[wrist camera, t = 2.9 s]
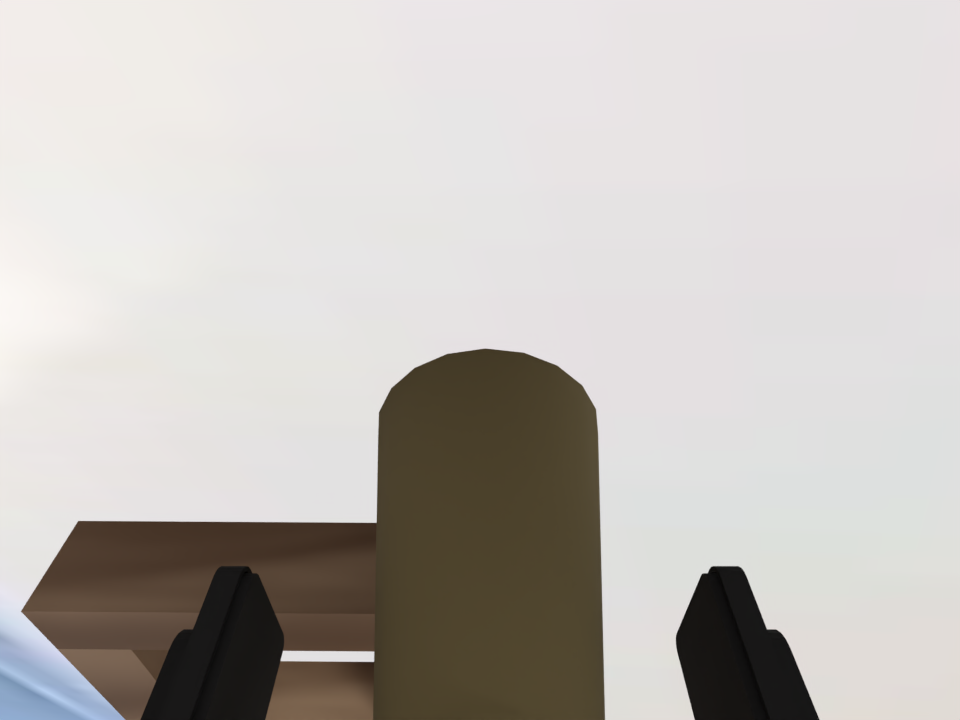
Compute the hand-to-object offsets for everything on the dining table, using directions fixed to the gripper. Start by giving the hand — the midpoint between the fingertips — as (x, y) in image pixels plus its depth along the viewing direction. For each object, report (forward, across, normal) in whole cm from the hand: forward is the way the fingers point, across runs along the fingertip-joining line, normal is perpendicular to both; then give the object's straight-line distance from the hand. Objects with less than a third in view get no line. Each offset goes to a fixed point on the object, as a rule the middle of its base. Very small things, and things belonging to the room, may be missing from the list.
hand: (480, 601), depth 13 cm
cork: (+5, 0, 0) cm, 5 cm away
